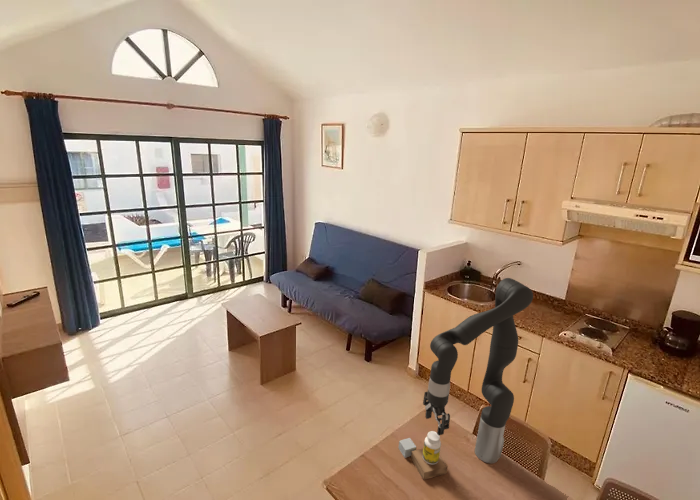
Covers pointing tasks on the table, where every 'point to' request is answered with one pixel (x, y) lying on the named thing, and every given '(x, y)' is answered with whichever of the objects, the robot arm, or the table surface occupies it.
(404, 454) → the slate block
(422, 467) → the walnut block
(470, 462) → the table surface
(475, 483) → the table surface
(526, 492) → the table surface
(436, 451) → the pill bottle
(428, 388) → the robot arm
